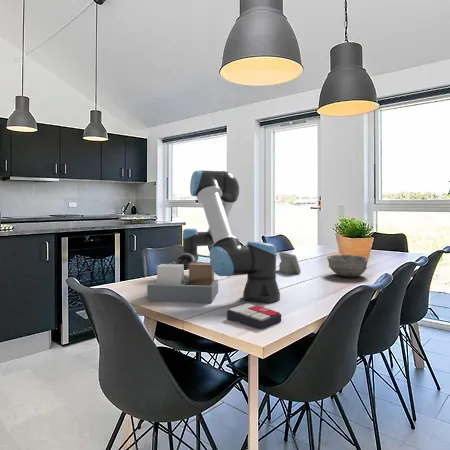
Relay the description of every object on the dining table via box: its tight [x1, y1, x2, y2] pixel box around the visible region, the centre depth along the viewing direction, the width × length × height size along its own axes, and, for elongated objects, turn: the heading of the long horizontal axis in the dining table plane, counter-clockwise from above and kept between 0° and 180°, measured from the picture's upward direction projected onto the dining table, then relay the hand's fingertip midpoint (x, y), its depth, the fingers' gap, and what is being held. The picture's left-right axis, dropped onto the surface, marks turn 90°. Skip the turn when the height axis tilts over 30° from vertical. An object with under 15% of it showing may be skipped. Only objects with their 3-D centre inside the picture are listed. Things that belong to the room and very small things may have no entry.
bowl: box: [326, 254, 369, 278], centre depth 201 cm, size 21×21×10 cm
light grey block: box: [156, 263, 185, 285], centre depth 161 cm, size 6×10×11 cm, turn 83°
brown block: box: [188, 261, 215, 286], centre depth 166 cm, size 6×10×11 cm, turn 83°
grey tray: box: [146, 278, 219, 304], centre depth 160 cm, size 18×26×6 cm
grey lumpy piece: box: [278, 251, 302, 275], centre depth 213 cm, size 16×9×11 cm, turn 10°
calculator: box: [226, 303, 282, 331], centre depth 128 cm, size 11×4×15 cm
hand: (174, 270), depth 169 cm, fingers closed
